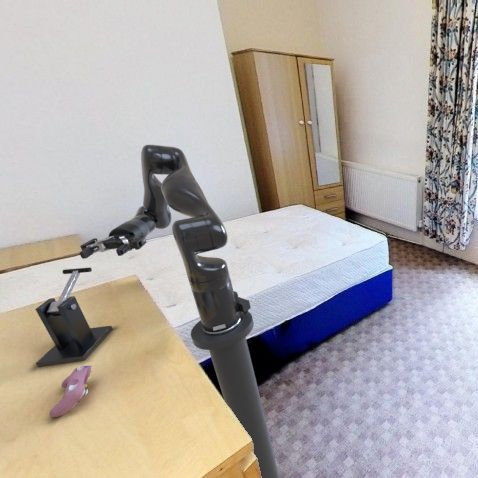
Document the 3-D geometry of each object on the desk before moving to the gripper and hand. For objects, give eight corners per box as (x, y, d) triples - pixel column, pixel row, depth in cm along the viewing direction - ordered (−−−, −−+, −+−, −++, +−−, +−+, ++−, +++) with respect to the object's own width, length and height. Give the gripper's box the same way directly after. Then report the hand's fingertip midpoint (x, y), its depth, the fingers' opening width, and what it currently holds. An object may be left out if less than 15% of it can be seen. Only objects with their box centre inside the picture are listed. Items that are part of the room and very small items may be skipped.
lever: (68, 272, 85) (61, 267, 83) (93, 270, 86) (88, 265, 84) (45, 317, 77) (37, 313, 75) (73, 314, 78) (67, 309, 77)
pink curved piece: (79, 417, 66) (88, 388, 66) (46, 420, 63) (56, 390, 63) (90, 384, 74) (98, 358, 73) (61, 386, 71) (69, 359, 70)
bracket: (72, 334, 87) (50, 291, 81) (113, 329, 89) (94, 286, 83) (37, 367, 76) (9, 320, 70) (84, 360, 78) (60, 314, 73)
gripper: (100, 224, 104) (64, 244, 89) (152, 221, 107) (125, 240, 93) (108, 245, 107) (75, 268, 92) (158, 241, 110) (134, 263, 96)
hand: (100, 254), depth 93 cm, fingers open, 8 cm apart
